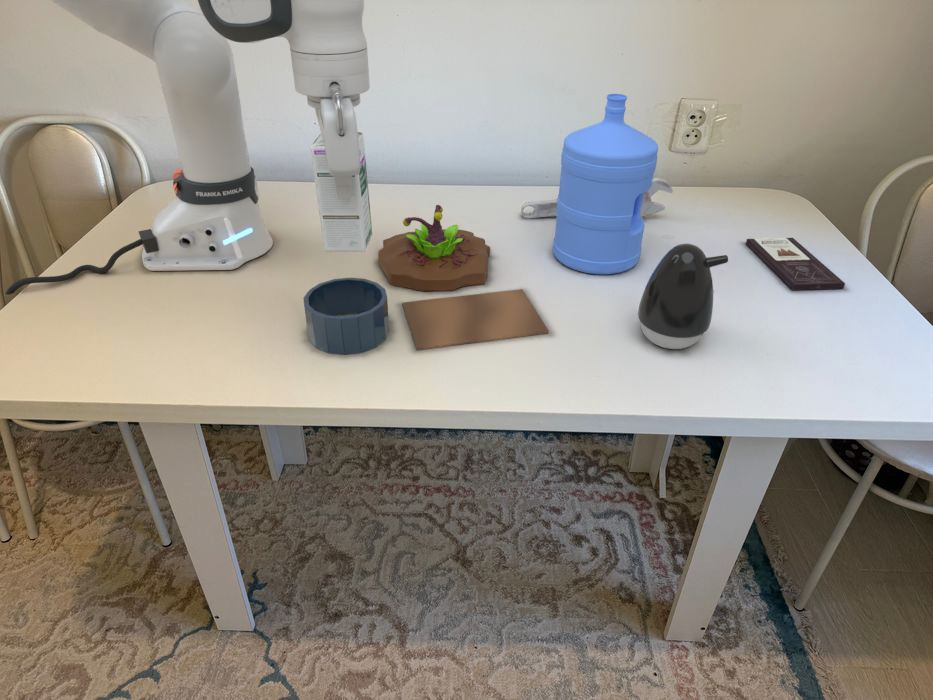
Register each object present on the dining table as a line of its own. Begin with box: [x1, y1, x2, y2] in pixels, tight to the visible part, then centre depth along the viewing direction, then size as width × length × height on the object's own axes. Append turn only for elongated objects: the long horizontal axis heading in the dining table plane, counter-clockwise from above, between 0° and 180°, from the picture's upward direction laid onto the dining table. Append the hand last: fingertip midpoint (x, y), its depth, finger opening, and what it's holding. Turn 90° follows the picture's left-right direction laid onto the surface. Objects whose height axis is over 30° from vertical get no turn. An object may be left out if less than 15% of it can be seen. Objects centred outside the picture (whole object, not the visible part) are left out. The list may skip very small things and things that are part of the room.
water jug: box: [552, 93, 659, 275], centre depth 113 cm, size 16×16×28 cm
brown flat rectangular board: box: [401, 288, 550, 351], centre depth 102 cm, size 20×13×1 cm, turn 104°
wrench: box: [520, 177, 674, 219], centre depth 133 cm, size 8×2×30 cm
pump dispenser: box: [637, 243, 729, 350], centre depth 94 cm, size 10×10×15 cm
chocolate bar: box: [745, 237, 846, 291], centre depth 118 cm, size 9×1×18 cm
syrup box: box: [309, 131, 373, 253], centre depth 87 cm, size 6×6×14 cm
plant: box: [377, 204, 491, 292], centre depth 114 cm, size 20×20×11 cm
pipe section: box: [303, 277, 390, 356], centre depth 97 cm, size 12×12×6 cm
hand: (342, 186), depth 86 cm, fingers closed on syrup box, 6 cm apart
